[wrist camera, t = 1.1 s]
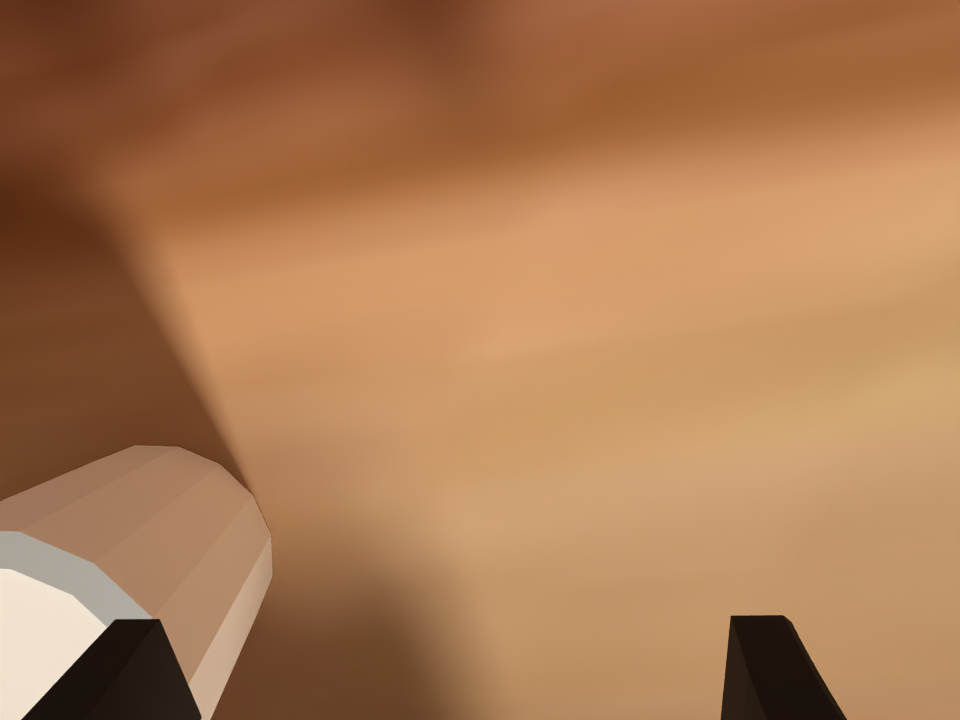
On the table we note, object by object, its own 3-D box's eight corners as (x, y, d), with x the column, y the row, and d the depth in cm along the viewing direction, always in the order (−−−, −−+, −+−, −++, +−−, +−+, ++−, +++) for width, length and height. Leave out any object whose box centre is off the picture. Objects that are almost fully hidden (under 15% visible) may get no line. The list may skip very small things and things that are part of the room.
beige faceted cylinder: (-17, 580, 22) (-260, 753, 15) (113, 364, 21) (-91, 450, 14) (209, 724, 23) (69, 956, 16) (351, 522, 21) (264, 680, 15)
